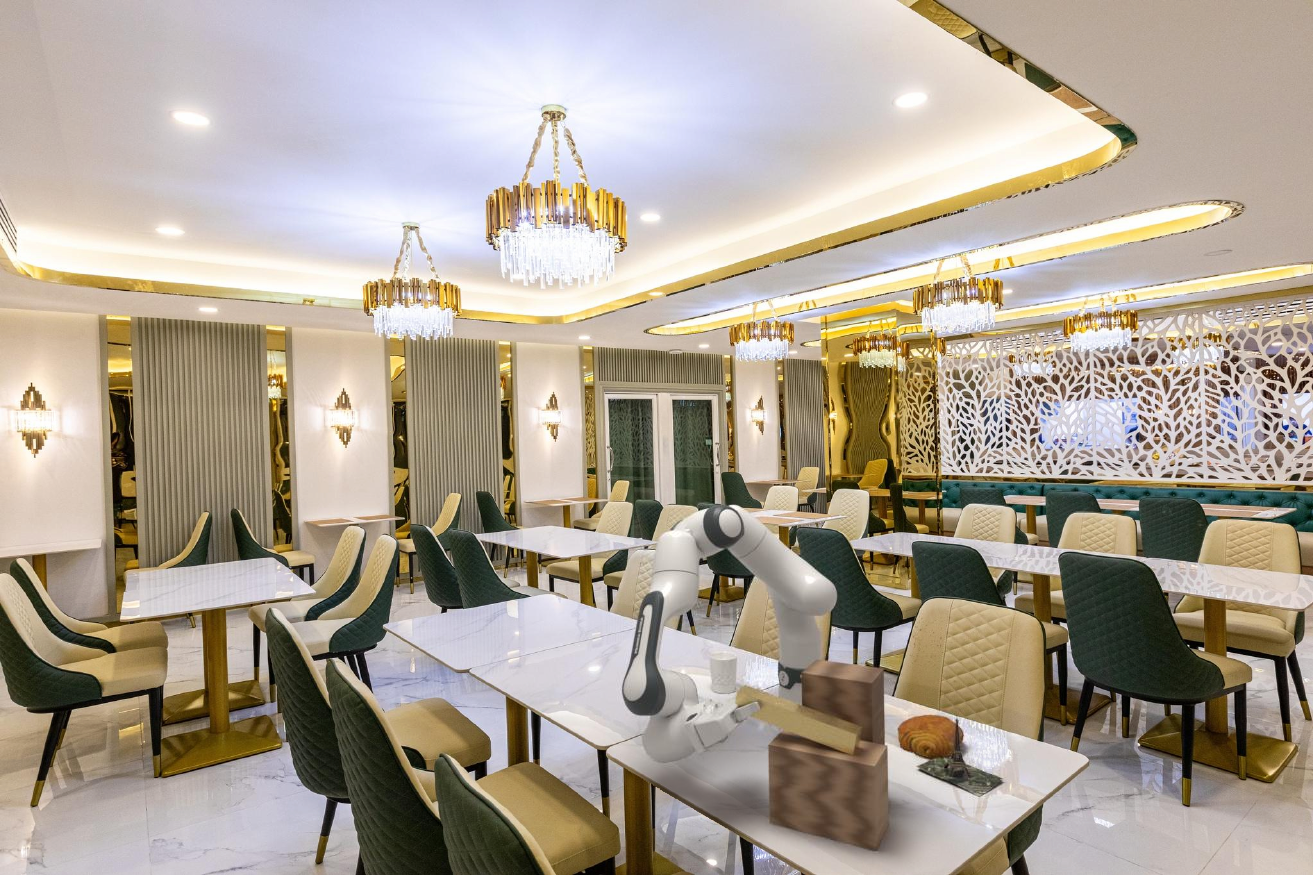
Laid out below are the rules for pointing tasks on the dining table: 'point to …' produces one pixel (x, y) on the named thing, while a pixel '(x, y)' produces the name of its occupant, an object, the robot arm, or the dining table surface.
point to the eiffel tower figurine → (960, 771)
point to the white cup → (723, 671)
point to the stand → (834, 761)
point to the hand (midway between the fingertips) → (764, 700)
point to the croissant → (929, 735)
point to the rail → (802, 720)
